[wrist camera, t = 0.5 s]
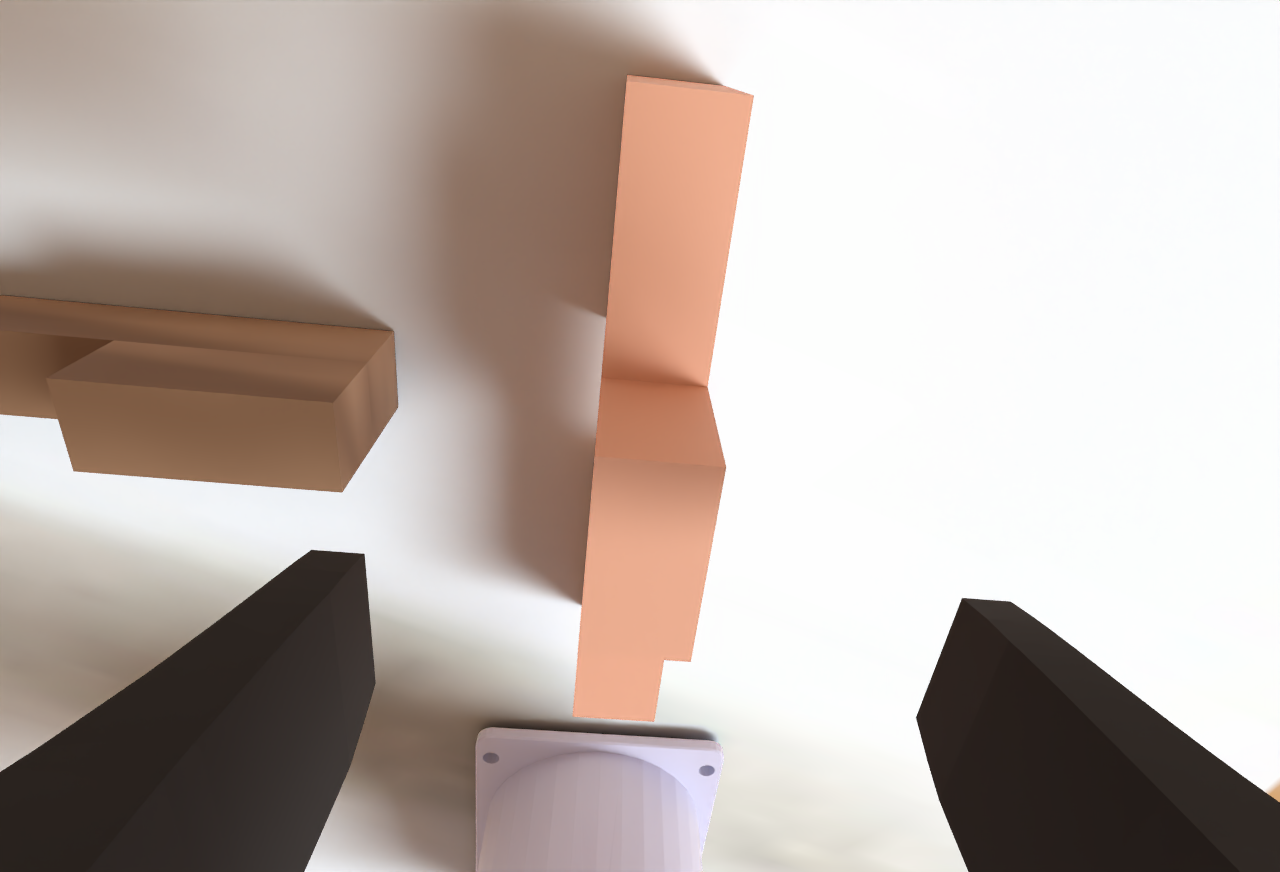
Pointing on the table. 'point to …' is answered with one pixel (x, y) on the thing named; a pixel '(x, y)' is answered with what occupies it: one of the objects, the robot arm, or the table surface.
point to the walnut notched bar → (199, 391)
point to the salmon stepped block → (658, 392)
